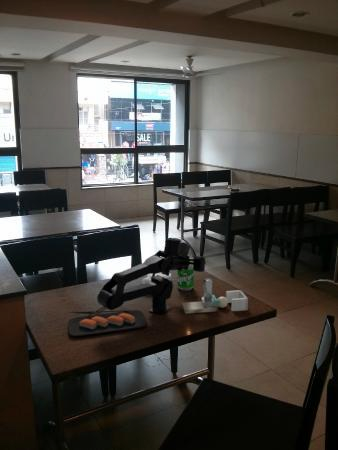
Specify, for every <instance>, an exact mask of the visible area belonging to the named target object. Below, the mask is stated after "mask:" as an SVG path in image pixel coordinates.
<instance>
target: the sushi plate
mask: <svg viewBox="0 0 338 450" xmlns="http://www.w3.org/2000/svg"><path fill="white" fill-rule="evenodd" d="M105 308H106V307H104V306H102V307H100V308H99V309H97V310H94V311H93V310H90V311H70V313H73V314H88V315H85V316H77V317H72V318H70V319H69V320H68V322H67V326H68V327H67V329H68V333H69V335H70V336H72V337H81V336H82V337H83V336H89V335H96V334H98V335H99V334H105V333H106V334H107V333H113V332H120V331H127V330H134V329H141V328H144V327H147V325H148V321H147V318H146V316H145V314H144V313H143V311H142V310H138V309H136V310H135V309H134V310H127V309H126V310H124V309H123V310H103V309H105ZM97 313H99V314H97Z"/></svg>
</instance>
